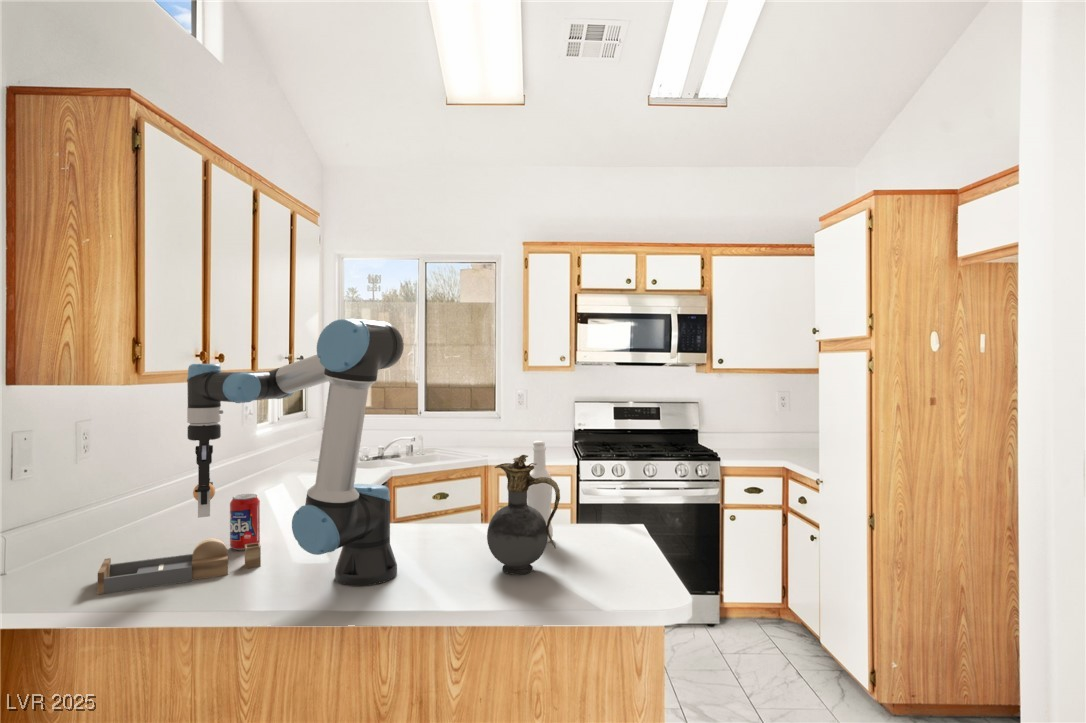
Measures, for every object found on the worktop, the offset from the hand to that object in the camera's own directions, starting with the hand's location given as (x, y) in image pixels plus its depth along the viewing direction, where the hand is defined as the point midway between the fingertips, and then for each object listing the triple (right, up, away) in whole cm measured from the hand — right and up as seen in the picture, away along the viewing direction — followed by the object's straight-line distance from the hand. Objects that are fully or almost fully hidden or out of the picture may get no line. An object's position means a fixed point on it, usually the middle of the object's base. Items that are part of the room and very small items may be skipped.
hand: (204, 513), depth 163 cm
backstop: (-19, -15, -10) cm, 26 cm away
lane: (-10, -15, -5) cm, 19 cm away
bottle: (+86, -15, +28) cm, 92 cm away
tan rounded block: (+1, -15, +1) cm, 15 cm away
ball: (0, +6, 0) cm, 6 cm away
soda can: (+1, -15, +21) cm, 26 cm away
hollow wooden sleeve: (+10, -15, +5) cm, 19 cm away
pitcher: (+82, -15, +1) cm, 84 cm away
